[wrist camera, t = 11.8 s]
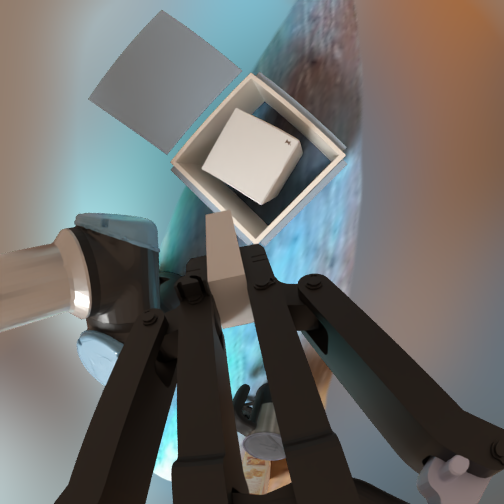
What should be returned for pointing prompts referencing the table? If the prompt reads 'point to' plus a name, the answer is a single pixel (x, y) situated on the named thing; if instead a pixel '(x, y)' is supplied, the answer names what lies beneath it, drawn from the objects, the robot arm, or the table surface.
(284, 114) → the carton
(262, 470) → the coffeecake box
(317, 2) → the table surface
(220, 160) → the supplement box
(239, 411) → the milk frother
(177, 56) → the flap
